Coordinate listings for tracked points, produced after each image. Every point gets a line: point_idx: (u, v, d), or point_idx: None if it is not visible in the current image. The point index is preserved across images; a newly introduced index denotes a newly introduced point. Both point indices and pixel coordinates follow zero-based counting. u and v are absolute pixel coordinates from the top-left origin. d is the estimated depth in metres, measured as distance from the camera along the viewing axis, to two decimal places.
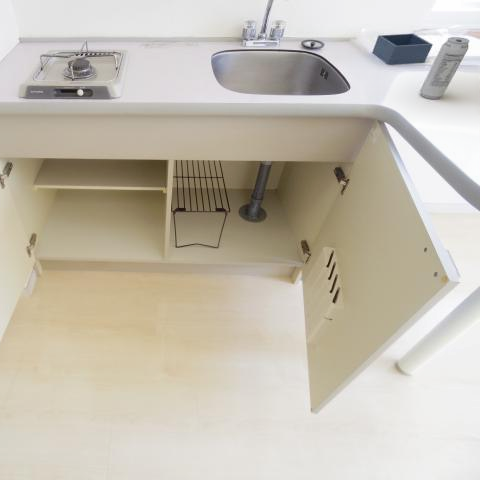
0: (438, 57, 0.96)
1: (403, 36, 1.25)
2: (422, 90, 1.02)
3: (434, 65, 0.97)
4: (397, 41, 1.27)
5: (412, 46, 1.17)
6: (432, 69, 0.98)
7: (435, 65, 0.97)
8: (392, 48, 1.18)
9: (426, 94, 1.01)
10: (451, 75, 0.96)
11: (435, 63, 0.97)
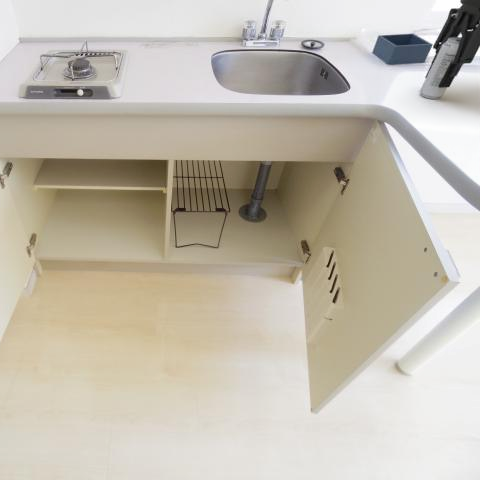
0: (438, 57, 0.96)
1: (403, 36, 1.25)
2: (422, 90, 1.02)
3: (434, 65, 0.97)
4: (397, 41, 1.27)
5: (412, 46, 1.17)
6: (432, 69, 0.98)
7: (435, 65, 0.97)
8: (392, 48, 1.18)
9: (426, 94, 1.01)
10: None
11: (435, 63, 0.97)
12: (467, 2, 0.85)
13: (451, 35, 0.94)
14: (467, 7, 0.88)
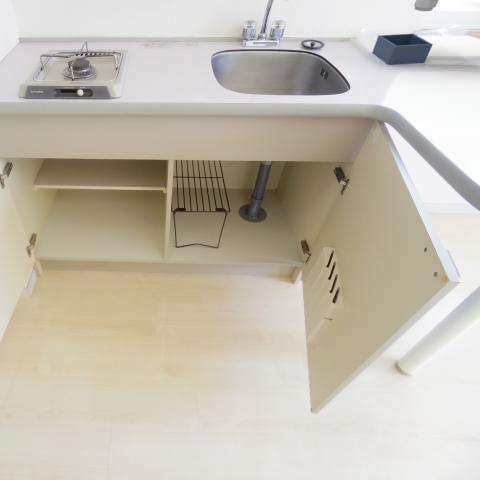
0: None
1: (403, 36, 1.25)
2: (416, 3, 1.10)
3: None
4: (397, 41, 1.27)
5: (412, 46, 1.17)
6: None
7: None
8: (392, 48, 1.18)
9: (420, 6, 1.09)
10: None
11: None
12: None
13: None
14: None
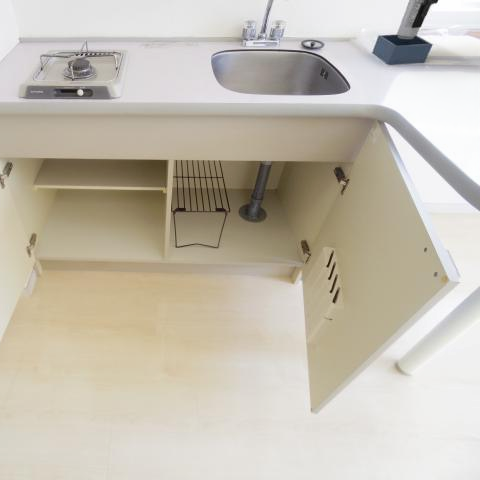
0: (411, 1, 1.13)
1: None
2: (398, 32, 1.20)
3: (408, 8, 1.15)
4: (397, 41, 1.27)
5: (412, 46, 1.17)
6: (406, 12, 1.16)
7: (409, 8, 1.14)
8: (392, 48, 1.18)
9: (402, 35, 1.19)
10: None
11: (408, 6, 1.14)
12: None
13: None
14: None
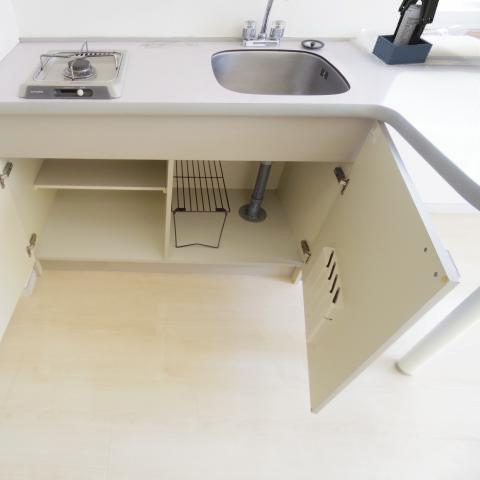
0: (403, 21, 1.17)
1: None
2: None
3: (400, 28, 1.19)
4: None
5: (412, 46, 1.17)
6: (398, 32, 1.20)
7: (401, 28, 1.18)
8: (392, 48, 1.18)
9: None
10: None
11: (400, 26, 1.19)
12: None
13: (411, 1, 1.16)
14: None
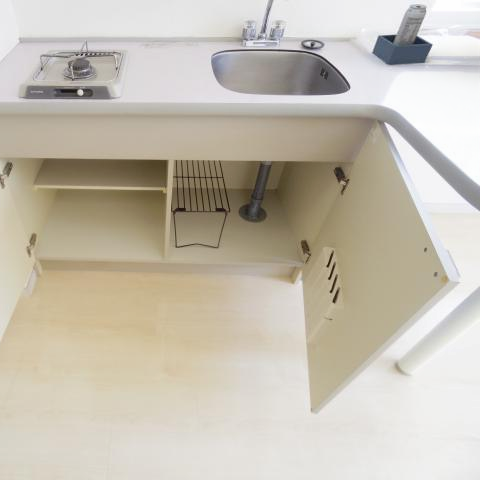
0: (403, 21, 1.17)
1: None
2: None
3: (400, 28, 1.19)
4: None
5: (412, 46, 1.17)
6: (398, 32, 1.20)
7: (401, 28, 1.18)
8: (392, 48, 1.18)
9: None
10: (413, 36, 1.18)
11: (400, 26, 1.19)
12: None
13: None
14: None
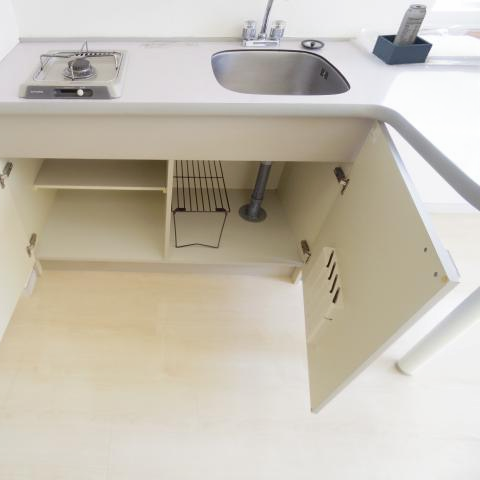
0: (403, 21, 1.17)
1: None
2: None
3: (400, 28, 1.19)
4: None
5: (412, 46, 1.17)
6: (398, 32, 1.20)
7: (401, 28, 1.18)
8: (392, 48, 1.18)
9: None
10: (413, 36, 1.18)
11: (400, 26, 1.19)
12: None
13: None
14: None
